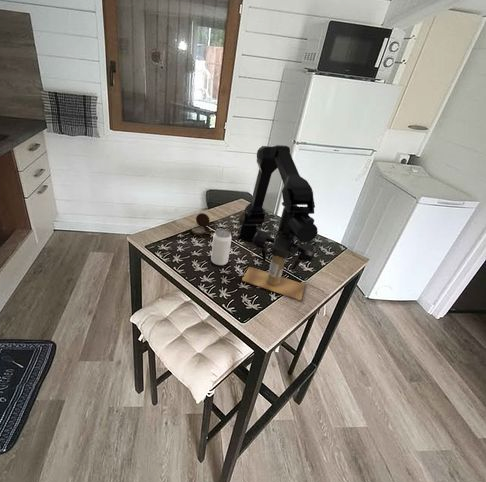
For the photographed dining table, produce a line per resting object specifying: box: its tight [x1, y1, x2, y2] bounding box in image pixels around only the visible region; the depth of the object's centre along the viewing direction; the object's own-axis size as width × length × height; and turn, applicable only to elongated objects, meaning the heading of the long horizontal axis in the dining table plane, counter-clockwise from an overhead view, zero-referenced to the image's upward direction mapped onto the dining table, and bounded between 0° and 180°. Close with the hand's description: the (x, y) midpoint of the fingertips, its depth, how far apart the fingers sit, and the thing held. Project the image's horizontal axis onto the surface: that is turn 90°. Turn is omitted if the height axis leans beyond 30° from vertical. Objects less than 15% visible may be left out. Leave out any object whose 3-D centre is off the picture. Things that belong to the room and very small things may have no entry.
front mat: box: [241, 266, 306, 302], centre depth 96 cm, size 20×9×1 cm, turn 67°
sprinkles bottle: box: [267, 255, 287, 285], centre depth 92 cm, size 5×5×13 cm
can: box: [210, 228, 233, 266], centre depth 101 cm, size 6×6×12 cm
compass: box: [190, 212, 210, 236], centre depth 119 cm, size 8×8×7 cm
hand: (277, 266), depth 92 cm, fingers open, 9 cm apart
